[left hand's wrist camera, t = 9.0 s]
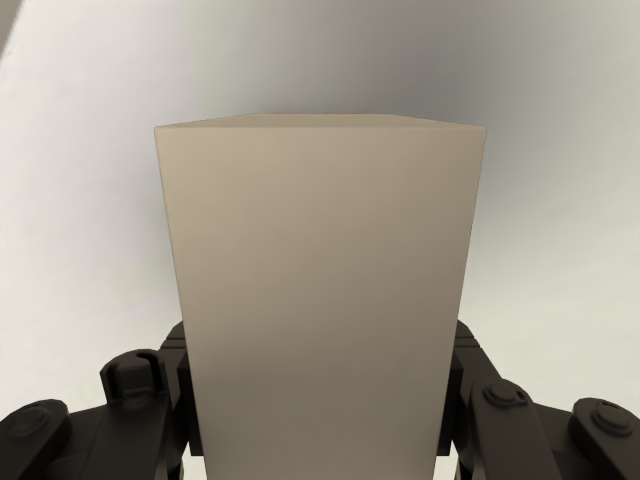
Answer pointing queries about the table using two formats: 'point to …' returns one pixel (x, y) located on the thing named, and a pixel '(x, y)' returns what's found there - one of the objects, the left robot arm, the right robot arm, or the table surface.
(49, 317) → the table surface
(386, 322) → the post
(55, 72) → the table surface
